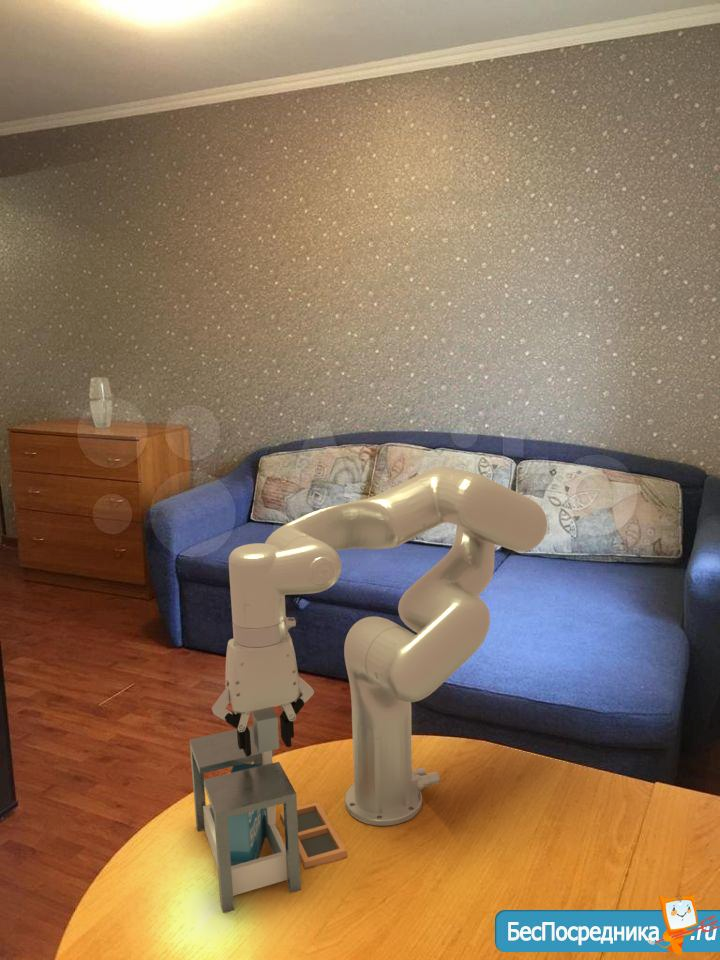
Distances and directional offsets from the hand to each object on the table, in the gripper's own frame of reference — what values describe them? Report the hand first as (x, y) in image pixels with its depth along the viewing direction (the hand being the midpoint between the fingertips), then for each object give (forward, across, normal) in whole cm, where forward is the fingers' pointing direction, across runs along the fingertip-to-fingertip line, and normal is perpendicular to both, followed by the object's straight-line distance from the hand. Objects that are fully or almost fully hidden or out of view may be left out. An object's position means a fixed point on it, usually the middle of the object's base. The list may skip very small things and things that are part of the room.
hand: (266, 745), depth 114 cm
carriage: (+17, +4, 0) cm, 17 cm away
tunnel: (+17, +4, 0) cm, 17 cm away
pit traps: (+17, -6, 0) cm, 18 cm away
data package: (+17, +4, 0) cm, 17 cm away
